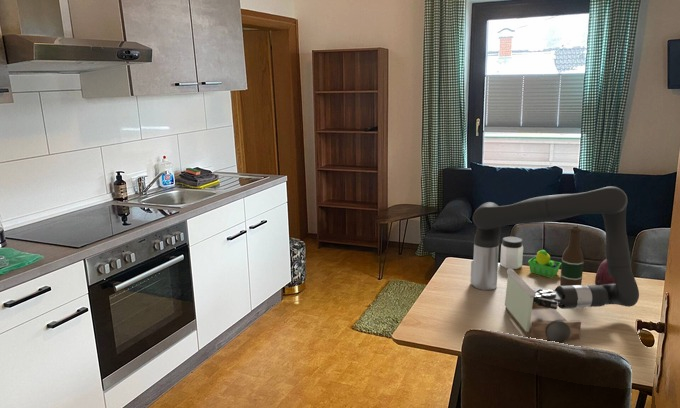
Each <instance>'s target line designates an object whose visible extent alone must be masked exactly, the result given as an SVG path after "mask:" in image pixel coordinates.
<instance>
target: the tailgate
mask: <svg viewBox="0 0 680 408" xmlns="http://www.w3.org/2000/svg"><path fill="white" fill-rule="evenodd" d="M506 273H507V281H506V282H507V283H506V289H505V299H504V306H505V308H506V307H507V309H508V310H509V311H510V312H511V314H512V315H513V316H514V317H515V319H516V320H517V321H518V322H519V324H520V325H521V326H522V327H523V329H524V330H525V331H526V332H529V328H530V321H531V313H532V305H533V297H535V295H536V293H535V292H534V291H533V290H534V289H533V288H532V287H530V285H529V284H527V282H525V281H524V279H523V278H521V277H520V275H519V274H517V272H516V271H515V269H511V268H510V269H508V268H507V269H506ZM507 309H506V310H507Z"/></svg>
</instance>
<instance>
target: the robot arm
mask: <svg viewBox="0 0 680 408" xmlns="http://www.w3.org/2000/svg"><path fill="white" fill-rule="evenodd" d="M628 200H629V199H628V196H627V194H626V193H625V191H624V190H623V189H621V188H619V187H617V186H611V185H610V186H606V187H605V186H604V187H601V188H598V189H594V190H589V191H585V192H578V193H562V194H561V193H560V194H552V195H551V194H550V195H542V196H541V195H540V196H536V197H531V198H528V199H524V200H520V201H518V202H514V203H513V204H507V205H498V204H497V203H495V202H491V201H488V202H484V203H482V204H481V205H479V207H477V208H476V209H475V211H474V212H473V215H472V223H473V224H474V225H475V226H476V230H475V231H476V232H475V233H474V239H473V240H474V241H473V260H472V261H471V262H470V283H469V284H471V285H472V286H473V287H474V288H475V289H478V290H482V291H483V290H484V291H490V290H495V289H497V286H498V272H499V271H498V266H499V247H500V239H501V234H502V227H507V226H510V225H511V226H512V225H525V224H536V223H537V224H539V223H548V222H555V221H561V220H565V219H568V218H573V217H577V216H581V215H594V214H597V215H598V214H601V215H602V218H603V221H604V228H605V257H606V259H607V268H608V273H609V275H610V276H612V277H613V278H614V280H615V283H616V284H605V285H596V284H592V285H591V284H590V285H589V284H587V285H582V284H581V285H566V286H561V285H558V286H557V287H556V288H555V289H554V290H553V289H544V287H543V286H539V287H537V288H534V289H532V290H533V291H534V292H535V293H536V295H535V297H533V302H534V303H536V304H538V305H539V306H543V307H547V308H551V309H556V310H557V309H558V307H559V309H562V310H566V309H584V308H594V307H595V308H597V307H604V306H605V305H616V306H617V305H618V306H622V307H633V306H635V305H636V304H637V303H638V302H639V298H640V291H639V287H638V283H637V281H636V278H635V276H634V273H633V271H632V270H633V269H632V261H631V252H630V245H629V242H628V241H629V240H628V235H627V222H626V221H627V205H628Z"/></svg>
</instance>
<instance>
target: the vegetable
mask: <svg viewBox="0 0 680 408" xmlns="http://www.w3.org/2000/svg"><path fill="white" fill-rule="evenodd" d="M594 283H595V284H594V285H605V284H616V283H615V280H614V278H613V277H612V276H610V275H609V273H608V268H607V259H604V260H603V261H602V262H601V263H600V264H599V266H598V268H597V271H596V274H595V278H594Z"/></svg>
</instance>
